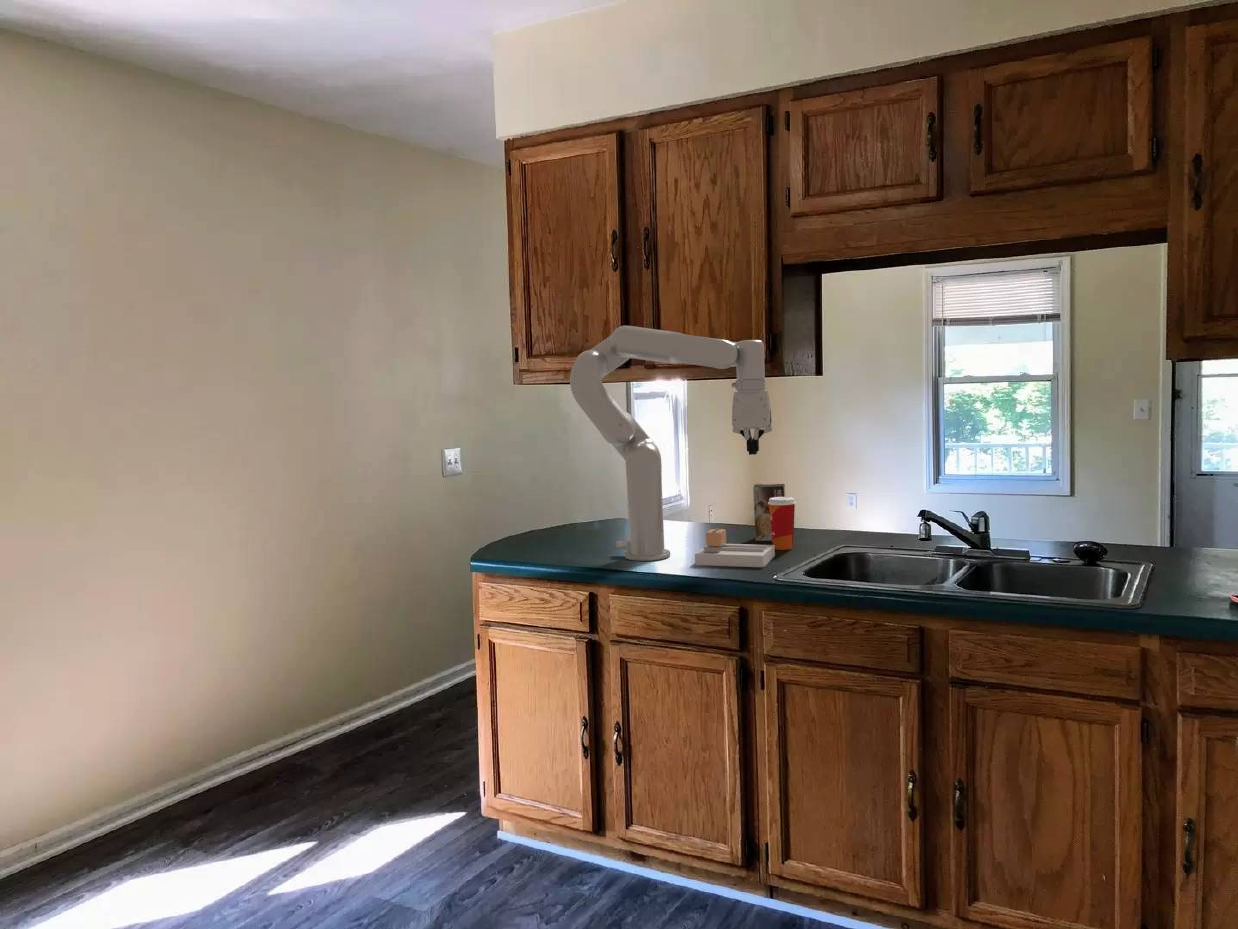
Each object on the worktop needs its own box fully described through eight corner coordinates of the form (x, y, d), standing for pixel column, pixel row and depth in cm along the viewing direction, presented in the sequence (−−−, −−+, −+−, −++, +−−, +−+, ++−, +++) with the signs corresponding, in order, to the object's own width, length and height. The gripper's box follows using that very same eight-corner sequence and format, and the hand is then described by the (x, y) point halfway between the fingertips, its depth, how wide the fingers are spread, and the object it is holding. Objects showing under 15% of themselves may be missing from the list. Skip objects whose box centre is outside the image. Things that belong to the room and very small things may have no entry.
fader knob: (706, 550, 245) (706, 531, 244) (711, 546, 249) (711, 528, 249) (721, 550, 243) (720, 531, 243) (726, 546, 248) (725, 528, 247)
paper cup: (777, 544, 264) (776, 495, 262) (802, 546, 259) (800, 497, 257) (763, 549, 258) (762, 499, 256) (788, 552, 253) (786, 501, 251)
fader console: (695, 564, 241) (694, 550, 241) (709, 554, 254) (709, 540, 254) (763, 567, 235) (763, 552, 235) (774, 556, 248) (774, 542, 248)
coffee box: (787, 537, 274) (786, 483, 273) (786, 541, 268) (784, 486, 266) (756, 537, 277) (754, 483, 275) (754, 541, 270) (752, 486, 269)
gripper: (720, 387, 248) (722, 455, 250) (775, 385, 243) (777, 455, 245) (727, 386, 255) (729, 453, 257) (781, 384, 250) (783, 452, 252)
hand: (753, 454), depth 251 cm, fingers closed
